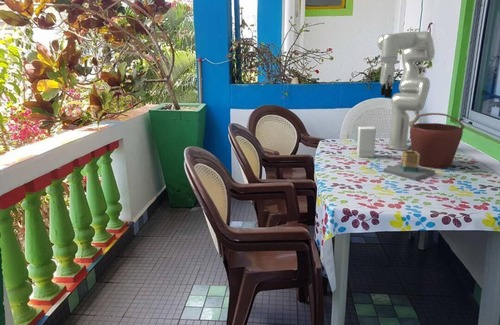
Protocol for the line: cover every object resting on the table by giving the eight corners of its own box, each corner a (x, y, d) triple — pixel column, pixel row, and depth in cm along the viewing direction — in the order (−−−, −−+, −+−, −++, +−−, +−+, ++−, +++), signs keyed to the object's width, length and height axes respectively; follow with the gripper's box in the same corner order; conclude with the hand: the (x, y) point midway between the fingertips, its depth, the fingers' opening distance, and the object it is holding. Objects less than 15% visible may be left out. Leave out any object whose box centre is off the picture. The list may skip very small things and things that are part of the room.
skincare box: (371, 154, 207) (374, 126, 203) (374, 157, 201) (376, 128, 196) (356, 154, 208) (358, 126, 204) (358, 157, 201) (360, 128, 197)
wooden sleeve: (400, 167, 178) (402, 150, 176) (414, 167, 177) (416, 151, 175) (403, 171, 172) (405, 154, 170) (417, 171, 171) (419, 154, 169)
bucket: (402, 165, 186) (407, 114, 179) (407, 155, 205) (412, 109, 198) (458, 172, 175) (466, 118, 168) (458, 161, 194) (466, 112, 187)
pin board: (402, 165, 186) (404, 152, 184) (434, 173, 173) (436, 159, 172) (383, 171, 177) (384, 158, 175) (415, 180, 164) (417, 166, 163)
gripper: (377, 60, 194) (375, 94, 199) (384, 61, 178) (381, 98, 183) (393, 60, 193) (390, 94, 198) (401, 61, 177) (397, 98, 182)
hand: (385, 96), depth 190 cm, fingers open, 9 cm apart
